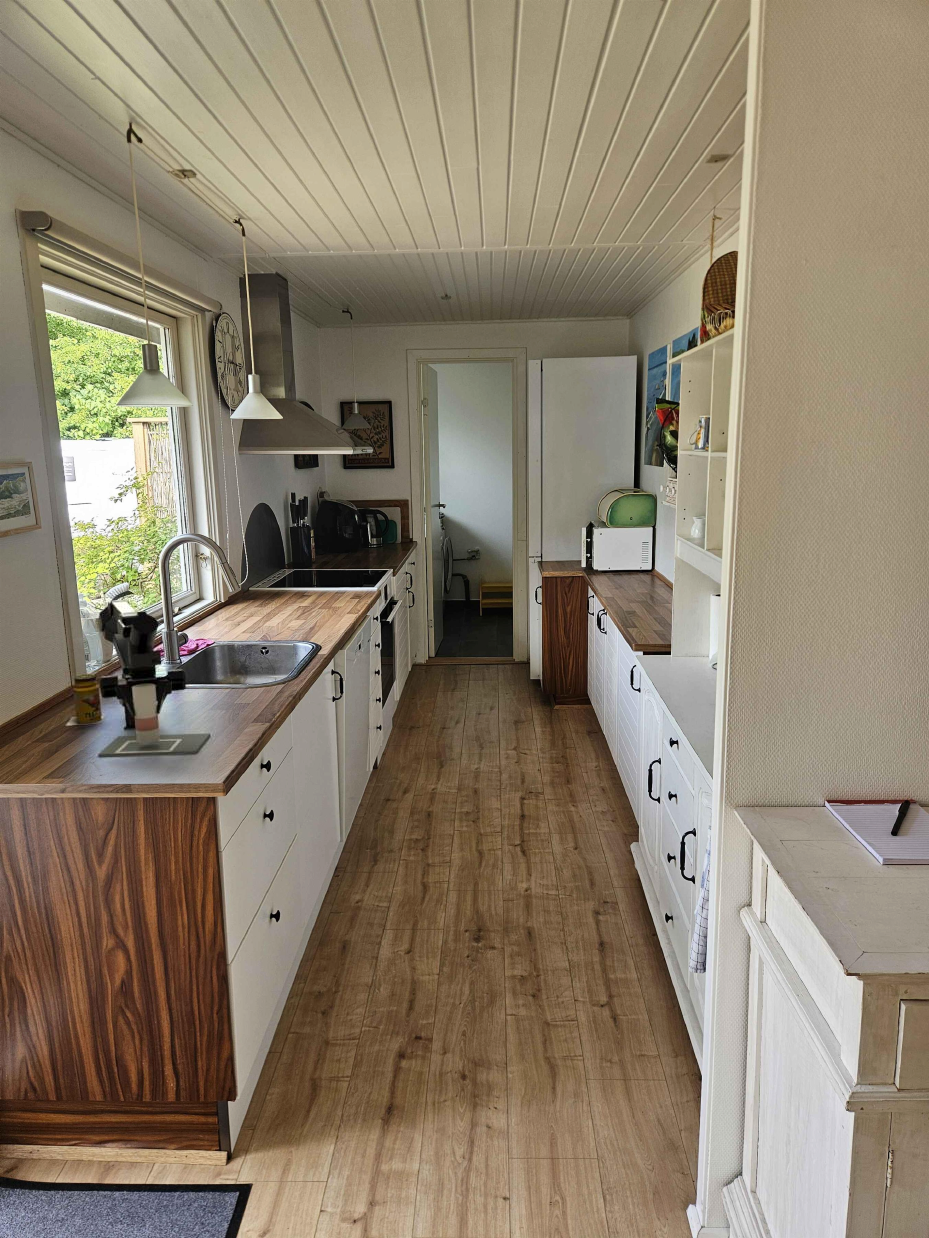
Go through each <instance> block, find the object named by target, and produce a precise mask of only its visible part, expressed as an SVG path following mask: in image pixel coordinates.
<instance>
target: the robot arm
mask: <svg viewBox="0 0 929 1238" xmlns="http://www.w3.org/2000/svg"><path fill="white" fill-rule="evenodd" d="M97 623H98V624H97V625H98V631H99V632H100V633H101V634H102V636H103V639H105V640H106V641H107V642H109V643H112V644H113V647H114V650H115V654H116V655H117V659H118V660H119V664H120V666H121V670H122V673H121V678H119V675H118V674H114V675H105V676H103V675H102V676H101V677H100V678H99V691H100V696H101V698H103V699H109V698H110V699H111V698H116V699H117V700H118V702H119V704H120V705H121V707H124V709H123V710H124V717H125V718H124V720H125V725H124V726H123V730H136V728H135V714H134V703H133V692H132V687H133V686H135V685H139V684H155V689H156V700H157V713H158V715H160V714H161V710H162V708H163V705H164V702H165V700H166V698H167V697H168V696H169V695H171V694H172V692H176V691H184V690H186V689H187V688H186V687H187V686H186V685H187V684H186V681H187V680H186V671H185V670H184V669H182V668H179V669H178V668H177V669H168V670H167V672H166V673H167V675H165V676H157V671H156V669H157V668H156V667H157V666H161V665H162V655H161V652H162V651H161V649H159V650H154V648H155V647H154V644H155V642H156V637H157V633H158V629H159V622H158V620H157V619H156V618H155V617H154V616H152V615H149V614H148V613H147V611H146V610H144V611H143V610H142V611H136V610H135V608H133V606H132V605H131V604H130V601H129V600H128V599H117V600H110V601H108V602H107V606H106V607H104V608H103V609H102V610H101V611H100V612H99V614H98V620H97Z"/></svg>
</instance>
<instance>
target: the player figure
mask: <svg viewBox="0 0 929 1238" xmlns="http://www.w3.org/2000/svg"><path fill="white" fill-rule="evenodd" d="M132 692H133V703H134V714H135V728H136V729H135V734H136V735H135V736H136V737H137V743H140V744H148V743H154V742H157V741H159V740H160V736H159V735H160V728H159V727H160V722H159V714H158V713H157V700H156V689H155V684H139V685H135V686H133V687H132Z"/></svg>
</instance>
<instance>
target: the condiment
mask: <svg viewBox="0 0 929 1238" xmlns="http://www.w3.org/2000/svg"><path fill="white" fill-rule="evenodd" d="M73 680H74V684H73V685H74V687H73V698H74V699H73V700H74V705H75V706H74V709H75V715H76V716H72V717H70V720H69V721H68V722H67V723H66V724H65V727H66V726H67V727H69V726H79V725H80V726H81V725H82V726H83V725H94V724H95V725H98V724H102V721H104V719H105V717H106V714H103V715H102V708H101V707H102V706H101V694H100V685H98V684H97V683H98V681H97V676H96V674H92V673H90V674H81V675H77V676H75V677H74V678H73Z"/></svg>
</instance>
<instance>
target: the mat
mask: <svg viewBox="0 0 929 1238" xmlns="http://www.w3.org/2000/svg"><path fill="white" fill-rule="evenodd" d="M159 736H160V740H159V741H157V742H154V743H148V744H140V743H137V737H136V735H119V736H117V737H116V738H114V740H113V741H111V742H110V743H109V744H108V745H107V746H106V747H105V748H104V749H102V750H101V751H100V752H99V753H97V757H100V758H102V757H126V756H127V757H131V756H132V757H133V756H136V757H137V756H161V755H164V756H167V755H168V756H169V755H191V754H193V755H194V754H195V755H196V754H198V752H199V750H201V748H202V747H203V745H204V744H205V743H206V742H207V741H208V739H209V738H210V737H211V733H185V734H184V733H182V734H181V733H180V734H179V733H177V734H175V733H173V734H159Z"/></svg>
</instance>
